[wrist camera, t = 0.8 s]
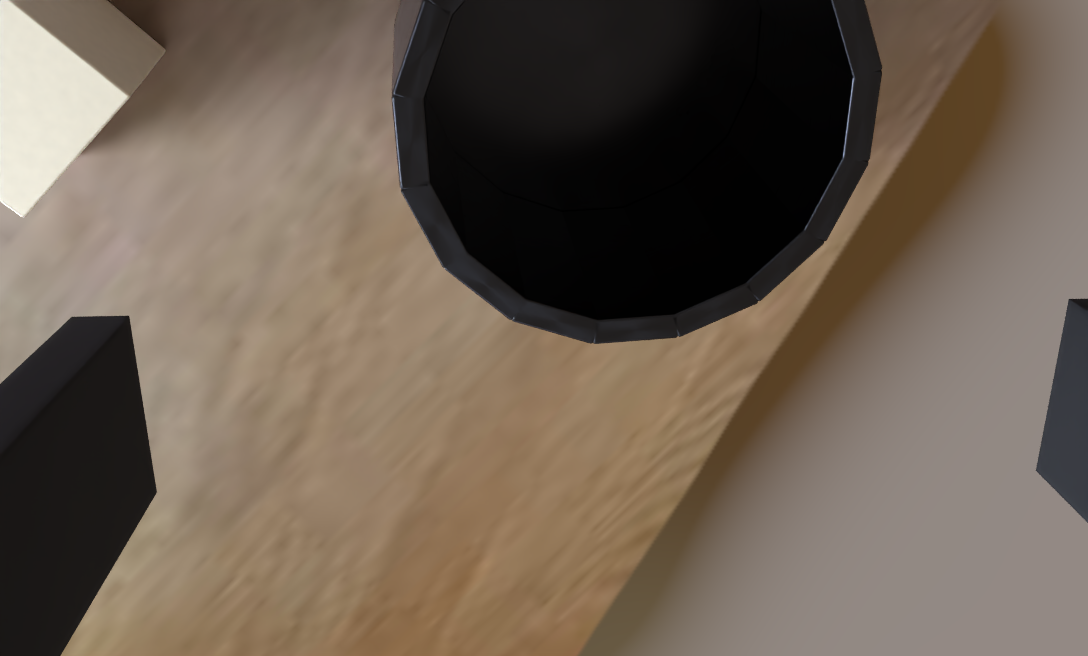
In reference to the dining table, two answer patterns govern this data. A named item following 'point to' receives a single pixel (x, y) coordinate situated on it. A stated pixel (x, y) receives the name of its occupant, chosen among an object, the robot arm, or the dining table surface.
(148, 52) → the block
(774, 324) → the dining table surface
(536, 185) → the pot
